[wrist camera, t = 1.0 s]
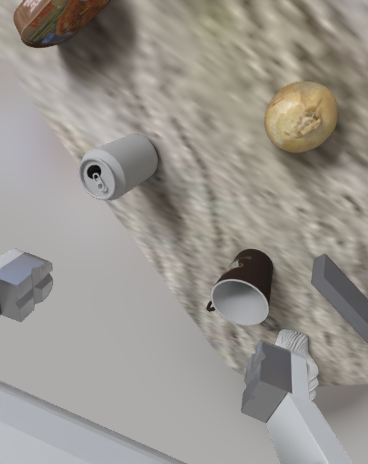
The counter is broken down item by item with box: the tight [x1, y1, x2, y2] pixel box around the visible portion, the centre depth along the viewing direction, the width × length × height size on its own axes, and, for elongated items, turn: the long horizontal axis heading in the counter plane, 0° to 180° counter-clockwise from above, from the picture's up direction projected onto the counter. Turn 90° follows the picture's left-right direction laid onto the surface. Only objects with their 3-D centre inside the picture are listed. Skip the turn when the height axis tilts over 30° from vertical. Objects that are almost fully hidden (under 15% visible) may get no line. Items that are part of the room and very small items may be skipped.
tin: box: [14, 0, 110, 48], centre depth 39 cm, size 15×3×8 cm, turn 116°
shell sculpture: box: [275, 329, 319, 402], centre depth 48 cm, size 8×8×18 cm
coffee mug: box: [206, 249, 273, 326], centre depth 48 cm, size 12×9×10 cm
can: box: [78, 134, 158, 200], centre depth 45 cm, size 8×8×12 cm
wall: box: [311, 254, 368, 343], centre depth 44 cm, size 2×20×6 cm, turn 49°
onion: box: [265, 81, 338, 153], centre depth 35 cm, size 8×8×7 cm
